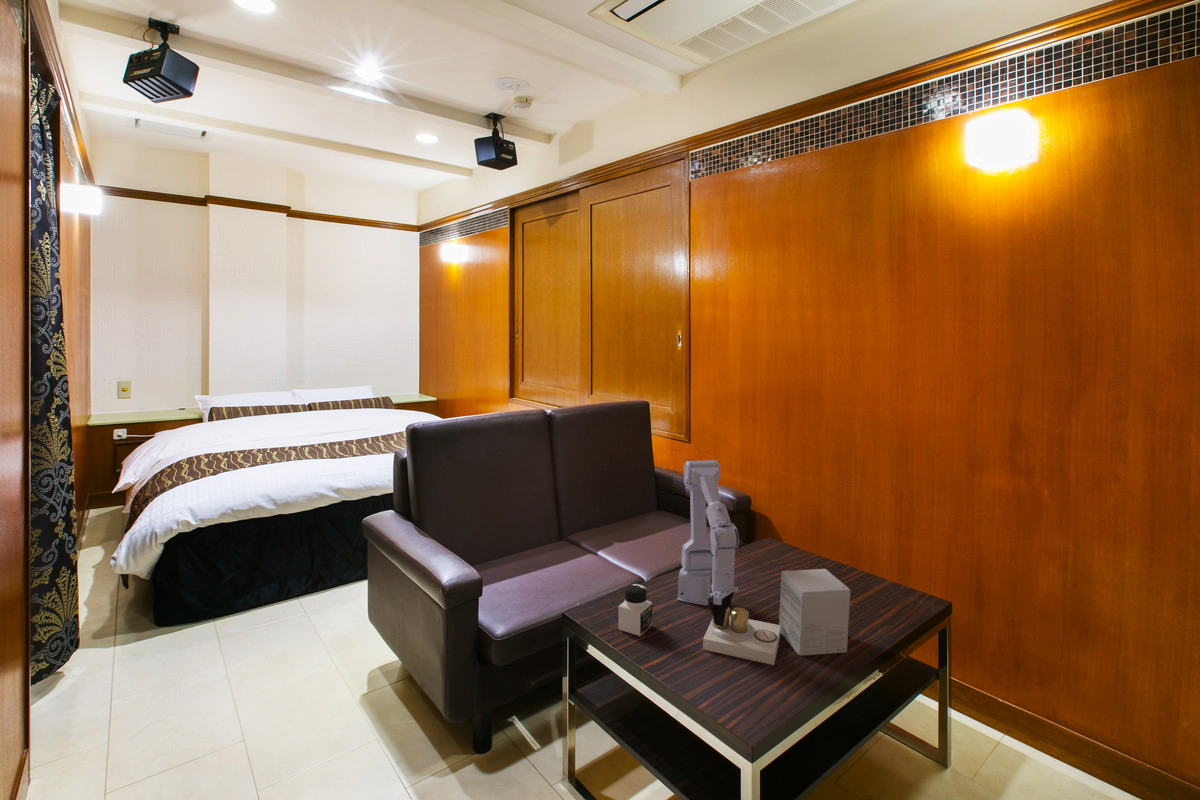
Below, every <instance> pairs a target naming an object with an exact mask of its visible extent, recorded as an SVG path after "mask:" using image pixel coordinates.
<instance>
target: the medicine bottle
mask: <svg viewBox="0 0 1200 800" xmlns="http://www.w3.org/2000/svg"><path fill="white" fill-rule="evenodd" d="M647 595H648V592H647V588H646V587H645V586H644V585H642V584H638V583H637V584H636V583H633V584H629V585H627V586H626V587H625V588H624V601H623V602H622V603H620V604H619V605H618V629H619V631H622V632H625V633H629V634H630V635H634V636H638V637H642V636H643V635H644V634H645V633H646V632H647V631H648V630H649V629H650V628H651V627H652V626H653V602H652V601H650V600H647V599H648V598H647Z"/></svg>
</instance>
